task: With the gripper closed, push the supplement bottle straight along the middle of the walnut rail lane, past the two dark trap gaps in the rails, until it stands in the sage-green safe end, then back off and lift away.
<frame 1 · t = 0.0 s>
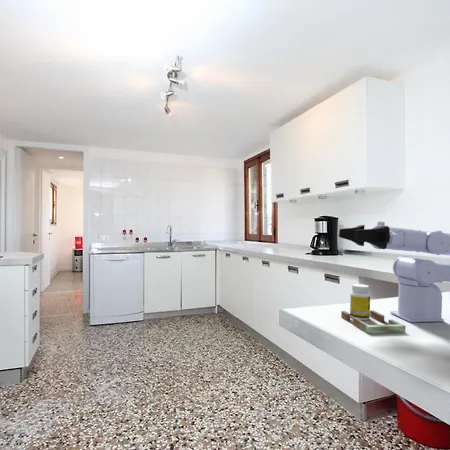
hand: (347, 233, 80), 22 cm above the table, tool horizontal, fingers open, 7 cm apart
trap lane: (369, 323, 77), on the table
supplement bottle: (359, 318, 82), on the table
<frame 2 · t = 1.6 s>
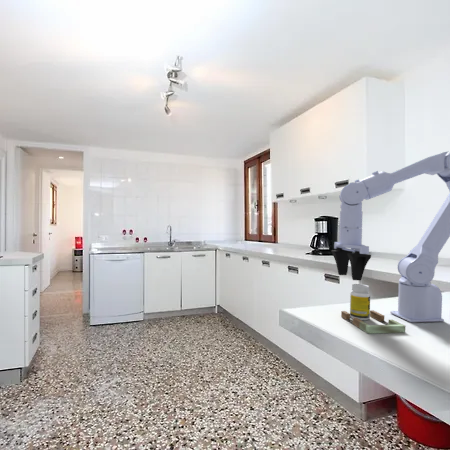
hand: (349, 277, 87), 9 cm above the table, tool pointing down, fingers open, 7 cm apart
nothing on the table moved.
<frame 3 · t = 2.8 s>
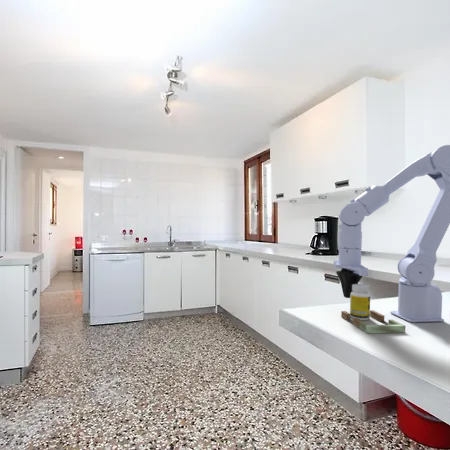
hand: (348, 297, 87), 4 cm above the table, tool pointing down, fingers closed
nothing on the table moved.
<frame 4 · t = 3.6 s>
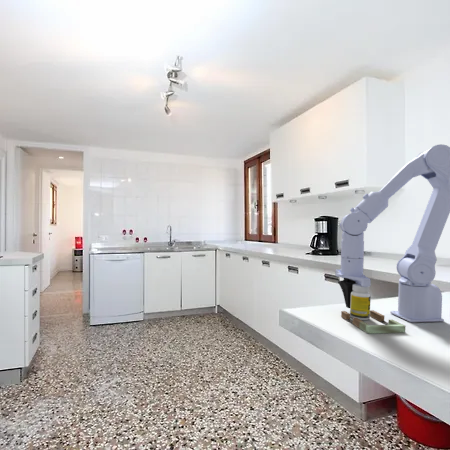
hand: (350, 307, 86), 1 cm above the table, tool pointing down, fingers closed
supplement bottle: (359, 318, 82), on the table, touching gripper
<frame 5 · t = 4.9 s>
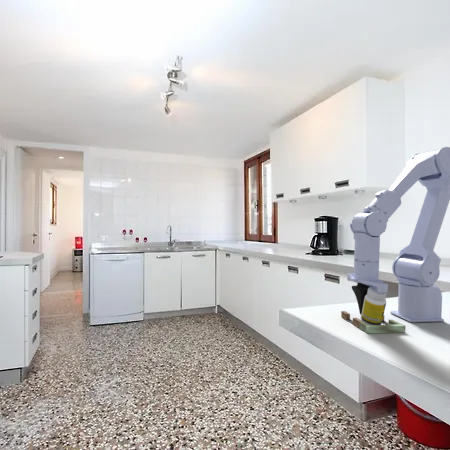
hand: (364, 314, 79), 1 cm above the table, tool pointing down, fingers closed, pressing on supplement bottle
supplement bottle: (370, 321, 77), on the table, touching gripper
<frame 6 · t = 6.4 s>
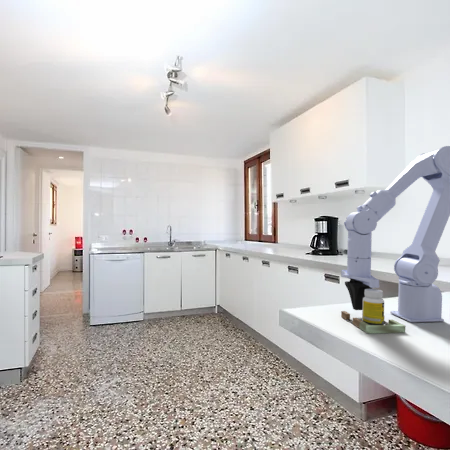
hand: (357, 309, 82), 2 cm above the table, tool pointing down, fingers closed
supplement bottle: (372, 325, 76), on the table
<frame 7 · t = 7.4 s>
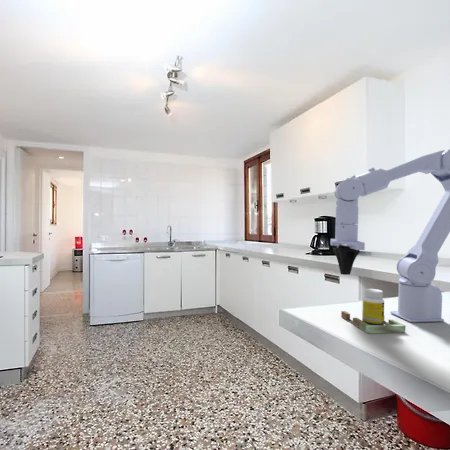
hand: (345, 274, 86), 10 cm above the table, tool pointing down, fingers closed
nothing on the table moved.
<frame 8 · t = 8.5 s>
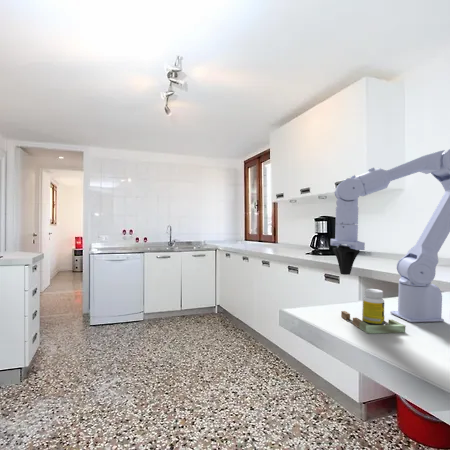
hand: (345, 274, 86), 10 cm above the table, tool pointing down, fingers closed
nothing on the table moved.
at the end: supplement bottle 1.5 cm from the target spot, on the table; supplement bottle tilted 0°; supplement bottle touching table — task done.
